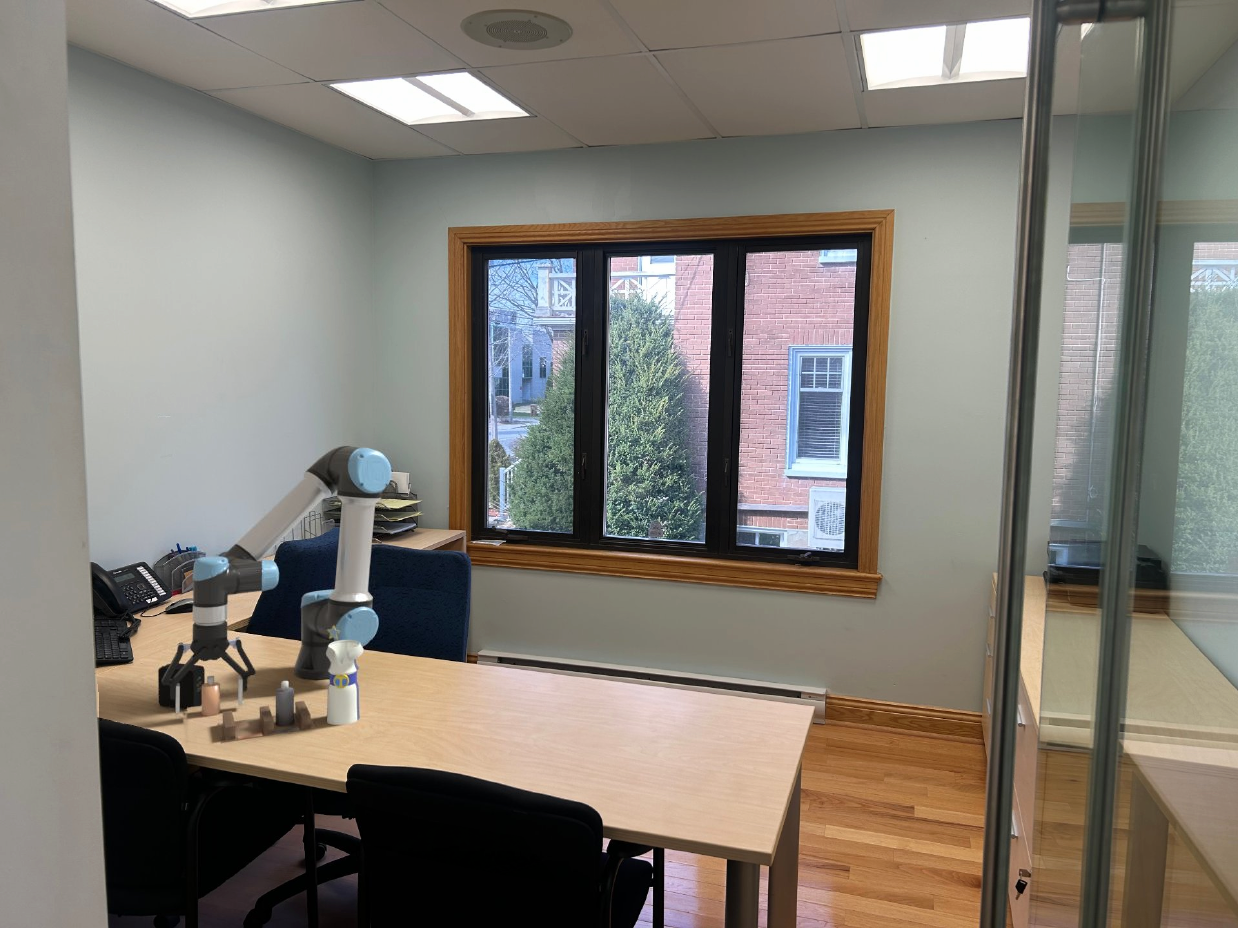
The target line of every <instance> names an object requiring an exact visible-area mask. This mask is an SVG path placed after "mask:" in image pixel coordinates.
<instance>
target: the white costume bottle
mask: <svg viewBox="0 0 1238 928" xmlns="http://www.w3.org/2000/svg"><path fill="white" fill-rule="evenodd" d="M327 631H328V632H329V633H330V637H329V639H330V638H333V637H334V638H336V639H337V634H338V633H339V632H340V631H339V630H336V629H335V626H333V627H332V629H328V630H327ZM363 647H364V646H361V644H360V642H358V641H355V640H340V641H335V642H332V643H330V644H329V645H328V649H327V652H326V655H327V657H328V658H329V660H330V662H331V665H330V667H329V669H328V671H329V672H330V678H329V684H328V686H327V705H326V706H327V708H326V722H327V724H330V725H334V726H344V725H345V726H346V725H350V724H354V723H356V722H358V721H359V720H360V688H359V682H358V670H359V669H360V667H359V666H358V663H357V659H358V658H359V657H360V656H362V655H363V653H364V648H363Z"/></svg>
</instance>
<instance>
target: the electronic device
mask: <svg viewBox="0 0 1238 928" xmlns="http://www.w3.org/2000/svg"><path fill="white" fill-rule="evenodd" d="M170 664H171V662H170V663H167V664H166V665H161V667H159V668H158V671H157V674H158V675H157V678H158V679H157V680H158V683H157V684H158V686H157V687H158V705H159V706H160V707H161V708H169V709H176V699H173V700H171V698H170V686H169V685H163V684H162V678H163V676H164V674H165V673H166V671H167V669H168V667H169V665H170ZM185 664H186V663H180V662H179V663H178V665H177V667H176V669H175V671H174V672H173V674H172V676H171V678H170V679H172V678H173V677H174V676H175V675H176V674H177V673H178V672H179V670H180V669H181V668H182V667H183V666H184V665H185ZM205 670H206V669H205V667H204V666H203V665H199V664H198V665H197V664H195V665H194V666H193V667H192V668H191V669H190V670H189V671H188V672H187V673H186V675H185V676H184V677H183V678H182V679H181V680H180V681H179V682H178V683H179V684H180V708H179V710H188V709H189V708H194V707H195V708H196V707H200V706H201V707H202V685H203V684H205V683H206V681H205V680H206V678H205V674H206V672H205Z"/></svg>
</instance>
